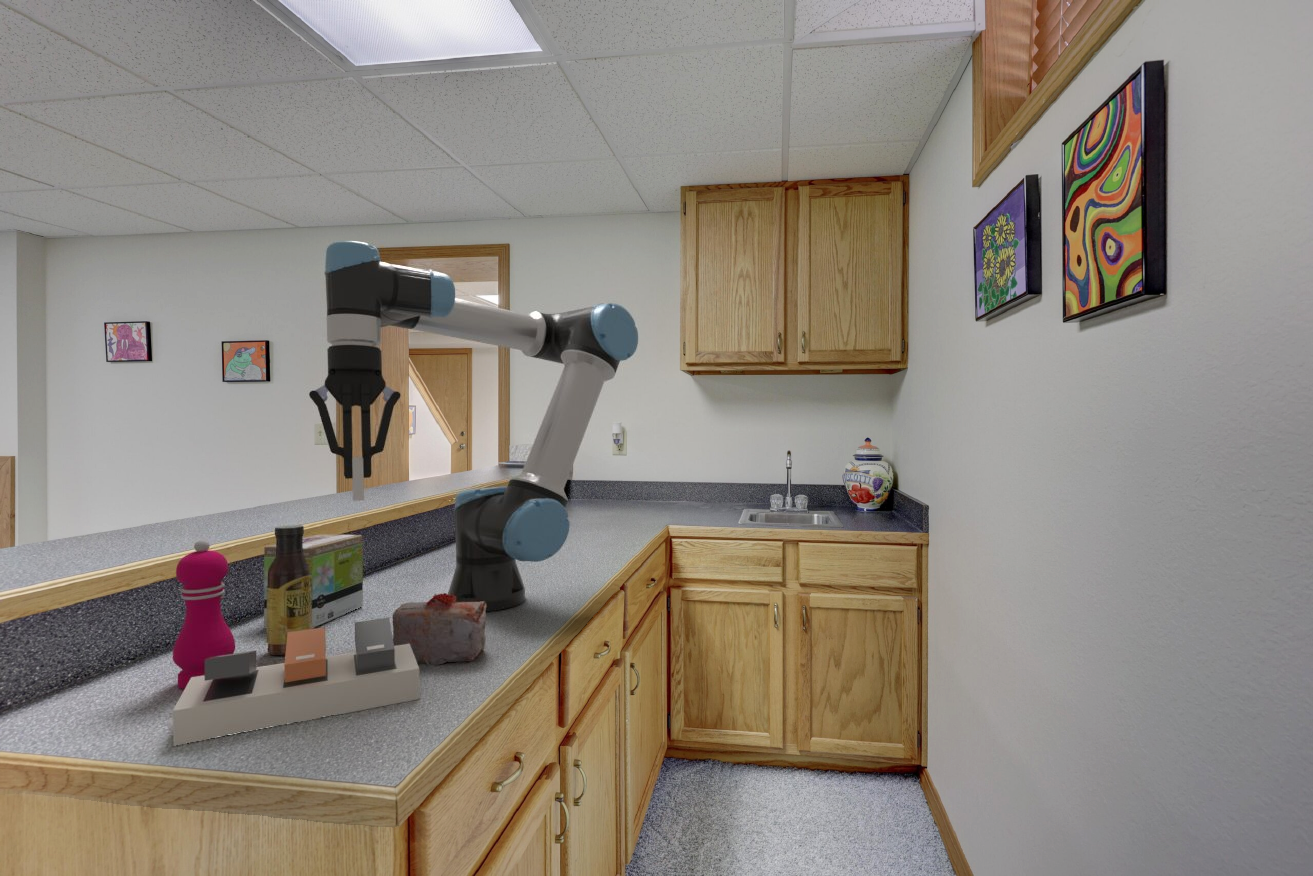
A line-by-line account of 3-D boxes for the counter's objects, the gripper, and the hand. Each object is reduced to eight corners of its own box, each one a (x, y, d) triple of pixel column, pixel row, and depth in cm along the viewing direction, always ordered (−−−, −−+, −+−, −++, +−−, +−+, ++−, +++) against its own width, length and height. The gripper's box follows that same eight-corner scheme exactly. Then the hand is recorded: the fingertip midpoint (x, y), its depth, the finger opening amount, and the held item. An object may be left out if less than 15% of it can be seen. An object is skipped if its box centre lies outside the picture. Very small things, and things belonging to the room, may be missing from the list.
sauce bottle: (291, 658, 100) (288, 530, 99) (257, 656, 101) (254, 529, 100) (322, 644, 106) (319, 523, 106) (289, 642, 107) (286, 523, 107)
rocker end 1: (256, 669, 83) (256, 649, 84) (249, 673, 76) (249, 652, 77) (215, 676, 81) (215, 655, 82) (204, 680, 74) (204, 658, 75)
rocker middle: (325, 643, 87) (325, 626, 87) (325, 675, 81) (325, 658, 80) (288, 648, 85) (287, 631, 85) (285, 682, 79) (284, 664, 78)
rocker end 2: (389, 632, 91) (389, 617, 90) (394, 665, 84) (394, 648, 84) (354, 637, 89) (354, 622, 89) (357, 671, 82) (357, 654, 82)
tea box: (313, 631, 113) (311, 547, 113) (262, 629, 115) (260, 546, 115) (365, 607, 128) (363, 532, 128) (319, 605, 130) (317, 532, 130)
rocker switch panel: (410, 671, 94) (409, 643, 94) (419, 699, 84) (419, 668, 84) (192, 708, 82) (191, 677, 82) (173, 746, 72) (172, 710, 72)
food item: (491, 647, 103) (490, 586, 103) (482, 666, 95) (480, 600, 95) (404, 651, 102) (403, 589, 102) (387, 670, 94) (385, 603, 94)
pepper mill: (243, 680, 91) (239, 539, 91) (180, 696, 86) (176, 546, 85) (227, 668, 96) (224, 533, 96) (167, 682, 91) (163, 540, 90)
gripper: (397, 350, 105) (401, 494, 106) (307, 347, 99) (310, 500, 100) (402, 345, 99) (406, 499, 99) (305, 341, 93) (309, 505, 93)
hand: (358, 499), depth 99 cm, fingers closed
